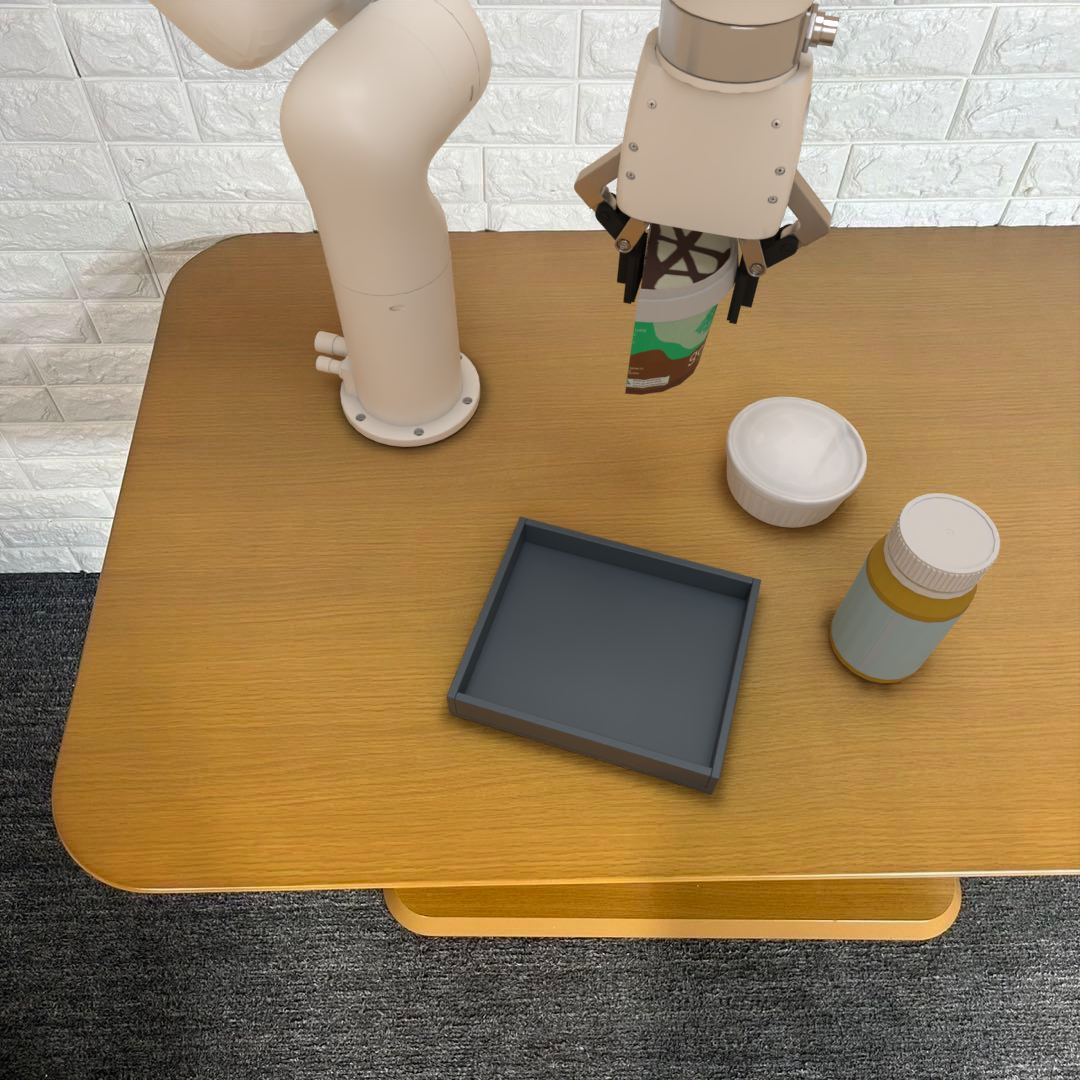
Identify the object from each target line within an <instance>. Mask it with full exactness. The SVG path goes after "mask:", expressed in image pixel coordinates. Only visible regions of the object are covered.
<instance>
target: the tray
mask: <svg viewBox="0 0 1080 1080" xmlns="http://www.w3.org/2000/svg"><path fill="white" fill-rule="evenodd" d="M514 527H515V528H514V530H513V532H512V535H511V536H510V539H509V542H508V544H507V546H506V550H505V552H504V554H503V557H502V559H501V561H500V564H499V567H498V569H497V571H496V574H495V576H494V579H493V581H492V584H491V586H490V588H489V590H488V592H487V593H488V594H487V596H486V599H485V600H484V602H483V606H482V608H481V610H480V612H479V616H478V617H477V620H476V623H475V625H474V628H473V630H472V633H471V636H470V638H469V640H468V642H467V645H466V648H465V650H464V652H463V655H462V657H461V659H460V662H459V665H458V666H457V670H456V672H455V675H454V677H453V680H452V682H451V685H450V687H449V689H448V691H447V694H446V701H447V706H448V711H449V715H450V716H453V717H457V718H459V719H460V718H461V719H463V720H467V721H470V722H473V723H475V724H476V723H477V724H480V725H484V726H486V727H489V728H493V729H496V730H500V731H503V732H506V733H508V734H512V735H517V736H519V737H523V738H526V739H530V740H532V741H536V742H539V743H542V744H546V745H549V746H552V747H555V748H559V749H562V750H565V751H569V752H572V753H575V754H579V755H582V756H585V757H589V758H591V759H595V760H598V761H602V762H605V763H607V764H611V765H615V766H618V767H621V768H625V769H628V770H631V771H634V772H637V773H640V774H644V775H647V776H650V777H654V778H657V779H661V780H664V781H667V782H670V783H672V784H677V785H680V786H684V787H687V788H690V789H693V790H697V791H700V792H703V793H707V794H710V795H713V793H714V791H715V790H716V787H717V785H718V783H719V781H720V779H721V776H722V775H721V774H722V769H723V764H724V760H725V756H726V750H727V746H728V741H729V736H730V731H731V727H732V722H733V717H734V712H735V708H736V703H737V698H738V694H739V688H740V684H741V678H742V674H743V670H744V665H745V659H746V656H747V650H748V647H749V646H748V645H749V641H750V636H751V632H752V626H753V622H754V617H755V614H756V613H755V611H756V609H757V602H758V599H759V594H760V588H761V583H762V579H760V578H757V577H753V576H749V575H745V574H741V573H738V572H734V571H729V570H726V569H722V568H720V567H719V568H718V567H715V566H711V565H707V564H703V563H699V562H697V561H696V562H695V561H691V560H688V559H685V558H681V557H677V556H673V555H668V554H665V553H661V552H658V551H654V550H650V549H647V548H642V547H638V546H635V545H631V544H628V543H624V542H619V541H616V540H612V539H608V538H605V537H601V536H596V535H594V534H593V535H592V534H589V533H585V532H582V531H577V530H574V529H570V528H566V527H562V526H558V525H555V524H551V523H547V522H543V521H540V520H536V519H532V518H527V517H524V516H519V518H518V519H517V522H516V525H515V526H514Z"/></svg>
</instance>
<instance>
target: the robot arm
mask: <svg viewBox="0 0 1080 1080" xmlns="http://www.w3.org/2000/svg"><path fill="white" fill-rule="evenodd" d="M147 1H148V2H149V3H150V4H151V5H152V6H153V7H154V8H155V9H156V10H157V11H159V13H161V14H162V15H163V16H164V17H165V18H166V19H167V20H168V21H170V22H171V23H172V25H173V26H175V27H176V28H177V29H178V30H179V31H180V32H181V33H182V34H184V35H185V36H186V37H187V38H188V39H189V40H191V42H193V44H194V45H196V46H197V47H198V48H200V49H201V50H202V51H203V52H204V53H206V54H207V55H208V56H210V57H211V58H212V59H214V60H215V61H216V62H217V63H220V64H222V65H224V66H225V67H228V68H231V69H233V70H238V71H251V70H256V69H258V68H262V67H263V66H265V65H267V64H269V63H270V62H272V61H273V60H275V59H277V58H278V57H280V56H281V55H282V54H283V53H285V52H287V51H288V50H289V49H290V48H292V47H293V46H294V45H295V44H296V43H298V42H299V40H301V39H302V38H303V37H304V36H305V35H307V34H308V33H309V32H310V31H311V30H313V28H315V27H316V26H318V24H319V23H321V22H322V21H323V20H325V21H326V22H328V23H329V24H330V25H331V26H333V28H335V29H336V31H335V32H334V33H333V34H332V35H331V36H329V38H328V39H326V40H325V41H324V42H323V43H322V44H321V45H320V46H319V47H318V48H317V49H315V50H314V51H313V52H312V53H311V55H309V57H308V58H306V60H305V61H304V62H303V63H302V64H301V65H300V66H299V68H298V69H297V71H296V72H295V73H294V74H293V76H292V78H291V79H290V82H289V83H288V85H287V87H286V90H285V92H284V94H283V97H282V100H281V103H280V104H281V105H280V110H279V131H280V136H281V140H282V143H283V147H284V149H285V153H286V155H287V157H288V159H289V162H290V164H291V166H292V168H293V170H294V171H295V174H296V176H297V177H298V181H299V182H300V184H301V186H302V188H303V191H304V193H305V196H306V198H307V200H308V202H309V203H308V204H309V205H310V208H311V211H312V214H313V216H314V220H315V224H316V227H317V232H318V234H319V238H320V242H321V247H322V250H323V255H324V258H325V263H326V267H327V269H328V274H329V277H330V282H331V287H332V291H333V295H334V300H335V304H336V309H337V312H338V317H339V320H340V321H339V322H340V325H341V330H342V334H343V336H341V335H340V334H336V333H332V332H327V331H324V330H320V331H318V332H317V333H316V335H315V337H314V343H313V345H314V349H315V351H316V352H319V353H323V354H327V355H330V356H334V357H336V356H339V357H342V358H344V359H342V360H338V359H335V358H333V357H329V356H325V355H319V356H318V357H317V358H316V361H315V369H316V370H317V371H319V372H323V373H327V374H334V375H338V376H339V378H340V379H341V380H342V382H341V383H340V391H339V395H340V403H341V406H342V411H343V413H344V416H345V417H346V419H347V421H348V423H349V424H350V425H351V426H352V427H353V428H354V429H355V431H357V432H358V433H360V434H361V435H363V436H364V437H365V438H367V439H370V440H371V441H375V442H376V443H379V444H383V445H387V446H392V447H400V448H401V447H403V448H404V447H405V448H406V447H408V448H409V447H419V446H425V445H430V444H434V443H436V442H439V441H442V440H445V439H446V438H448V437H450V436H452V435H454V434H456V433H457V432H458V431H460V429H462V428H463V427H464V426H466V425H467V423H469V421H470V420H471V419H472V418H473V416H474V414H475V412H476V411H477V409H478V407H479V404H480V399H481V383H480V376H479V374H478V371H477V368H476V366H475V365H474V363H473V362H472V361H471V359H470V358H469V357H467V356H466V355H465V354H464V353H463V352H462V351H461V350H460V349H461V348H460V339H459V338H460V337H459V327H458V326H459V325H458V316H457V306H456V305H457V304H456V296H455V295H456V294H455V284H454V272H453V271H454V270H453V262H452V251H451V245H450V236H449V227H448V222H447V217H446V214H445V210H444V209H443V207H442V206H443V205H441V202H440V201H439V200H438V198H437V196H435V194H434V193H433V191H432V189H431V187H430V185H429V180H428V175H429V169H430V165H431V163H432V161H433V159H434V157H435V156H436V154H437V153H438V152H439V150H440V149H441V148H442V147H443V146H444V145H445V143H446V142H447V140H448V139H449V138H450V136H451V135H452V134H453V133H454V131H455V130H456V129H457V128H458V127H459V126H460V124H462V122H463V121H464V120H465V119H466V118H467V116H468V115H469V113H471V111H473V109H474V108H475V106H476V105H477V104H478V102H479V101H480V100H481V98H482V97H483V95H484V93H485V91H486V90H487V86H488V85H489V81H490V77H491V72H492V64H493V63H492V60H493V58H492V50H491V45H490V40H489V38H488V35H487V32H486V28H485V27H484V24H483V23H482V21H481V19H480V17H479V15H478V13H477V12H476V11H475V9H474V7H473V6H472V5H471V3H470V1H469V0H147ZM814 1H815V0H661V1H660V9H659V10H660V11H659V19H658V26H656V27H654V28H653V29H651V30H649V32H648V34H647V35H646V38H645V41H644V44H643V47H642V50H641V53H640V57H639V60H638V66H637V69H636V72H635V76H634V81H633V84H632V90H631V94H630V99H629V104H628V109H627V113H626V119H625V127H624V131H623V137H622V142H621V143H620V144H618V145H617V146H615V147H614V148H612V149H611V150H609V151H608V152H606V153H605V154H603V155H602V156H600V157H599V158H597V159H596V160H595V161H593V162H591V163H590V164H589V165H588V166H586V167H584V168H583V169H581V170H580V171H579V173H578V175H577V177H576V179H575V182H574V185H573V189H574V192H575V193H576V194H577V195H578V196H579V197H580V198H581V200H582V201H583V203H585V205H586V206H587V207H588V208H589V209H590V210H592V211H593V212H594V213H595V214H594V217H595V220H597V222H598V223H599V224H600V225H601V227H603V228H604V230H605V231H606V232H607V233H608V234H609V236H611V238H612V239H613V240H614V248H615V249H616V251H618V253H619V254H618V255H619V257H618V265H617V274H616V283H617V284H623V285H624V292H623V301H622V302H623V304H628V305H631V304H632V303H635V302H636V298H637V296H638V293H639V289H640V287H641V283H642V276H643V269H644V262H645V255H646V247H647V240H648V233H649V232H646V231H647V229H649V226H650V223H655V224H661V225H666V226H672V227H677V228H683V229H688V230H694V231H699V232H705V233H711V234H717V235H723V236H728V237H734V238H737V240H738V244H739V247H740V250H741V257H740V259H739V260H740V261H739V269H738V273H737V277H736V281H735V284H734V286H733V290H732V295H731V299H730V304H729V308H728V312H727V317H726V321H729V322H728V323H729V324H732V325H733V324H734V325H737V324H738V320H739V316H740V311H741V308H742V307H745V308H752V307H753V304H754V299H755V296H756V292H757V288H758V284H759V280H760V278H761V277H763V276H765V274H766V273H767V269H769V268H771V267H773V266H774V265H776V264H779V263H780V262H782V261H784V260H786V259H788V258H790V257H792V256H794V255H795V254H797V252H798V250H799V249H801V248H802V247H803V248H805V247H807V246H809V245H810V244H812V243H814V242H816V241H818V240H820V239H821V238H824V237H825V236H826V235H828V234H829V233H830V229H831V224H832V214H831V212H830V211H829V209H828V208H827V207H826V205H824V203H823V201H822V200H821V198H819V196H818V195H817V194H816V192H815V191H814V190H813V189H812V187H811V185H810V184H809V183H808V182H807V181H806V179H805V178H804V176H803V175H802V174H801V172H800V171H799V170H798V164H799V160H800V156H801V151H802V145H803V141H804V137H805V132H806V127H807V123H808V116H809V111H810V104H811V98H812V89H813V79H814V78H813V77H814V74H813V73H814V54H813V53H812V51H811V50H810V49H809V48H815V49H816V48H818V46H825V47H831V48H832V47H833V46H834V42H835V39H836V36H837V31H838V27H839V24H840V16H835V15H834V16H833V15H828V14H826V11H822V10H821V11H820V10H819V6H820V3H816V2H815V3H814ZM615 180H616V189H615V192H616V193H614V192H610V188H609V187H608V186H607V185H608V184H610V183H612V182H613V181H615ZM787 208H788V209H790V211H791V212H792V214H793V215H794V216H795V217H796V219H797V220H795V221H794V222H793V223H787V224H785V225H783V226H782V223H783V221H784V217H785V215H786V211H787Z"/></svg>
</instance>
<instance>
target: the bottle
mask: <svg viewBox="0 0 1080 1080" xmlns="http://www.w3.org/2000/svg"><path fill="white" fill-rule="evenodd" d="M1000 548H1001V539H1000V533H999V531H998V527H997V526H996V524H995V523H994V521H993V520H992V518H990V516H989V515H988V514H987V513H986V512H985V511H984V510H983V509H982V508H980V507H979V506H977V505H976V504H975V503H973V502H971V501H969V500H967V499H965V498H963V497H961V496H957V495H954V494H950V493H943V492H933V493H925V494H923V495H918V496H916V497H915V498H913V499H912V500H910V501H909V502H907V503H906V504H905V505H904V506H903V508H902V509H901V511H900V512H899V514H898V516H897V517H896V519H895V521H894V522H893V524H892V526H891V528H890V531H889V532H888V533H886V534H884V535H883V536H882V537H881V538H880V539H878V540H877V541H876V542H875V544H873V546H872V548H871V550H870V551H869V553H868V555H867V556H866V558H865V560H864V562H863V563H862V566H861V567H860V569H859V571H858V573H857V574H856V576H855V577H854V579H853V581H852V583H851V584H850V587H849V589H848V590H847V592H846V594H845V596H844V598H843V599H842V601H841V603H840V604H839V606H838V608H837V610H836V612H835V614H834V616H833V618H832V620H831V623H830V625H829V641H830V645H831V648H832V650H833V652H834V654H835V656H836V657H837V659H838V660H839V662H840V663H841V664H842V665H844V667H846V668H847V669H848V670H849V671H850V672H851V673H853V674H855V675H857V676H858V677H860V678H861V679H862V678H863V679H864V680H867V681H869V682H874V683H879V684H894V683H899V682H902V681H905V680H907V679H909V678H910V677H912V676H913V675H914V674H915V673H916V672H918V670H919V669H920V668H921V667H922V666H923V664H924V663H925V662H926V661H927V659H928V658H929V657H930V656H931V654H932V653H934V651H935V650H936V649H937V647H938V646H939V645H940V643H941V642H942V641H943V639H944V638H946V636H947V635H948V633H949V632H950V631H951V630H952V628H953V627H954V626H955V625H956V623H957V622H958V621H959V619H960V618H962V616H963V614H964V613H965V612H966V611H967V610H968V608H969V607H970V605H971V604H972V602H973V601H974V598H975V596H976V594H977V589H978V582H980V581H981V580H982V579H983V577H984V576H985V575H986V574H987V572H988V571H989V570H990V568H991V567H992V565H994V563H995V562H996V560H997V558H998V557H999V552H1000Z"/></svg>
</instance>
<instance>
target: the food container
mask: <svg viewBox="0 0 1080 1080" xmlns="http://www.w3.org/2000/svg"><path fill="white" fill-rule="evenodd" d="M647 233H648V238H647V246H646V253H645V261H644V269H643V276H642V280H641V283H640V288H639V289H638V293H637V301H636V308H635V316H634V325H633V332H632V339H631V346H630V352H629V361H628V362H629V363H628V369H627V374H626V375H627V376H626V383H625V389H624V394H625V395H639V396H642V395H649V394H650V395H651V394H657V393H658V394H659V393H664V392H665V391H668V390H671V389H673V388H675V387H678V386H680V385H682V384H683V383H684V382H685V381H687V380H688V379H689V378H690V377H691V376H693V374H694V373H695V371H696V369H697V367H698V365H699V363H700V360H701V357H702V354H703V351H704V348H705V345H706V342H707V339H708V336H709V333H710V330H711V327H712V325H713V320H714V318H715V314H716V312H717V308H718V306H719V303H720V302H721V301H723V299H726V297H727V296H728V295H729V293H730V292H731V291H732V289H734V286H735V281H736V277H737V273H738V269H739V264H740V261H739V260H740V259H739V258H740V257H739V256H740V255H739V240H738V238H734V237H728V236H723V235H717V234H711V233H705V232H699V231H694V230H688V229H683V228H677V227H672V226H666V225H661V224H655V223H650V225H649V226H648V232H647Z"/></svg>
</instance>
